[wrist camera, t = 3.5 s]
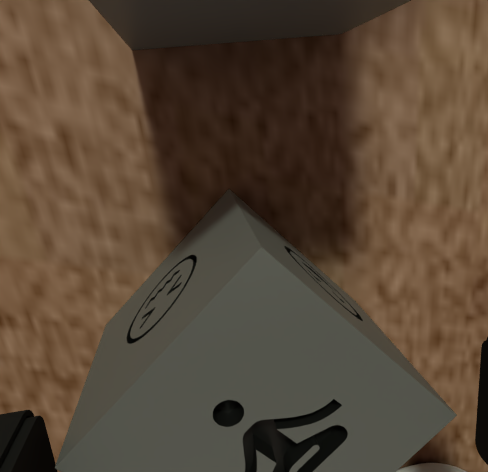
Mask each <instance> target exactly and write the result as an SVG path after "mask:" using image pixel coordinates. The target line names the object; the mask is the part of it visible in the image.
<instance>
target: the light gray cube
mask: <svg viewBox="0 0 488 472" xmlns="http://www.w3.org/2000/svg"><path fill="white" fill-rule="evenodd" d="M89 1H90V2H91V3H92V4H93V6H94V7H95V8H96V9H97V10H98V11H99V12H100V14H101V15H102V16H103V17H104V18H105V19H106V21H107V22H108V23H109V24H110V25H111V26H112V28H113V29H114V30H115V31H116V32H117V33H118V34H119V36H120V37H121V38H122V39H123V40H124V41H125V43H126V44H127V45H128V46H129V47H130V48H131V49H132V50H141V49H154V48H167V47H180V46H193V45H206V44H219V43H232V42H245V41H258V40H271V39H284V38H297V37H309V36H322V35H335V34H342V33H344V32H347V31H349V30H351V29H353V28H355V27H357V26H359V25H361V24H363V23H365V22H367V21H369V20H371V19H373V18H376V17H378V16H380V15H382V14H384V13H386V12H388V11H390V10H392V9H394V8H396V7H398V6H400V5H403V4H405V3H407V2H409V1H411V0H89Z"/></svg>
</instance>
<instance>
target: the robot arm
mask: <svg viewBox="0 0 488 472" xmlns="http://www.w3.org/2000/svg"><path fill="white" fill-rule="evenodd" d="M475 441H476V447H477V450H478V452H479V454H480V456H481V458H482V459H483V460H484V461H485V462H486V464H487V465H488V337H487V340H486V341H484V342H483V344H482V349H481V364H480V379H479V393H478V408H477V423H476V438H475ZM55 466H56V464H55V461H54V457H53V453H52V449H51V445H50V442H49V438H48V434H47V430H46V427H45V423H44V420H43V418H42V417H41V416H35V417H34V414H33V413H32V411H30V410H24V411H18V412H12V413H6V414H0V472H57V469H56V468H55Z"/></svg>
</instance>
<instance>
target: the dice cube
mask: <svg viewBox="0 0 488 472" xmlns="http://www.w3.org/2000/svg"><path fill="white" fill-rule="evenodd" d="M455 416H457V415H456V414H455V413H454V412H453V410H452V409H451V408H450V407H449V406H448V405H447V404H446V403H445V401H444V400H443V399H442V398H441V397H440V396H439V395H438V394H437V392H436V391H435V390H434V389H433V388H432V387H431V386H430V385H429V384H428V382H427V381H426V380H425V379H424V378H423V377H422V376H421V375H420V373H419V372H418V371H417V370H416V369H415V368H414V367H413V366H412V364H411V363H410V362H409V361H408V360H407V359H406V358H405V357H404V355H403V354H402V353H401V352H400V351H399V350H398V349H397V348H396V346H395V345H394V344H393V343H392V342H391V341H390V340H389V339H388V337H387V336H386V335H385V334H384V333H383V332H382V331H381V330H380V328H379V327H378V326H377V325H376V324H375V323H374V322H373V321H372V319H371V318H370V317H369V316H368V315H367V314H366V313H365V312H364V310H363V309H362V308H361V307H360V306H359V305H358V304H357V303H356V301H355V300H353V299H352V298H351V297H350V296H349V295H348V294H347V293H346V292H344V291H343V290H342V289H341V288H340V287H339V286H338V285H337V284H335V283H334V282H333V281H332V280H331V279H330V278H329V277H328V276H326V275H325V274H324V273H323V272H322V271H321V270H320V269H319V268H317V267H316V266H315V265H314V264H313V263H312V262H311V261H310V260H308V259H307V258H306V257H305V256H304V255H303V254H302V253H301V252H299V251H298V250H297V249H296V248H295V247H294V246H293V245H292V244H290V243H289V242H288V241H287V240H286V239H285V238H284V237H283V236H281V235H280V234H279V233H278V232H277V231H276V230H275V229H274V228H272V227H271V226H270V225H269V224H268V223H267V222H266V221H265V220H263V219H262V218H261V217H260V216H259V215H258V214H257V213H256V212H254V211H253V210H252V209H251V208H250V207H249V206H248V205H247V204H245V203H244V202H243V201H242V200H241V199H240V198H239V197H238V196H236V195H235V194H234V193H233V192H232V191H231V190H230V189H228V190H227V191H226V192H225V194H224V195H223V196H222V197H221V198H220V199H219V200H218V201H217V202H216V204H215V205H214V206H213V207H212V208H211V209H210V210H209V211H208V212H207V214H206V215H205V216H204V217H203V218H202V219H201V220H200V221H199V222H198V224H197V225H196V226H195V227H194V228H193V229H192V230H191V231H190V232H189V234H188V235H187V236H186V237H185V238H184V239H183V240H182V241H181V242H180V243H179V245H178V246H177V247H176V248H175V249H174V250H173V251H172V252H171V253H170V255H169V256H168V257H167V258H166V259H165V260H164V261H163V262H162V263H161V265H160V266H159V267H158V268H157V269H156V270H155V271H154V272H153V273H152V275H151V276H150V277H149V278H148V279H147V280H146V281H145V282H144V283H143V285H142V286H141V287H140V288H139V289H138V290H137V291H136V292H135V293H134V294H133V296H132V297H131V298H130V299H129V300H128V301H127V302H126V303H125V304H124V306H123V307H122V308H121V309H120V310H119V311H118V312H117V313H116V314H115V316H114V317H113V318H112V319H111V320H110V321H109V322H108V323H107V324H106V327H105V329H104V332H103V335H102V338H101V340H100V343H99V346H98V349H97V352H96V354H95V357H94V360H93V363H92V366H91V368H90V371H89V374H88V377H87V379H86V382H85V385H84V388H83V391H82V393H81V396H80V399H79V402H78V405H77V407H76V410H75V413H74V416H73V419H72V421H71V424H70V427H69V430H68V432H67V435H66V438H65V441H64V444H63V446H62V449H61V452H60V455H59V458H58V460H57V463H56V466H55V468H56V469H57V470H59V471H61V472H396V471H397V470H398V469H399V468H400V467H401V466H402V465H404V464H405V463H406V462H407V461H408V460H409V459H410V458H411V457H412V456H413V455H414V454H415V453H417V452H418V451H419V450H420V449H421V448H422V447H423V446H424V445H425V444H426V443H427V442H428V441H430V440H431V439H432V438H433V437H434V436H435V435H436V434H437V433H438V432H439V431H440V430H441V429H442V428H444V427H445V426H446V425H447V424H448V423H449V422H450V421H451V420H452V419H453V418H454V417H455Z"/></svg>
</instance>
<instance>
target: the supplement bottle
mask: <svg viewBox="0 0 488 472" xmlns="http://www.w3.org/2000/svg"><path fill="white" fill-rule="evenodd" d="M396 472H466V471H464V470H462V469H460V468H458V467H455V466H452V465H448V464H442V463H423V464H417V465H412V466H408V467H404V468H401V469H398V470H397V471H396Z"/></svg>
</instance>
